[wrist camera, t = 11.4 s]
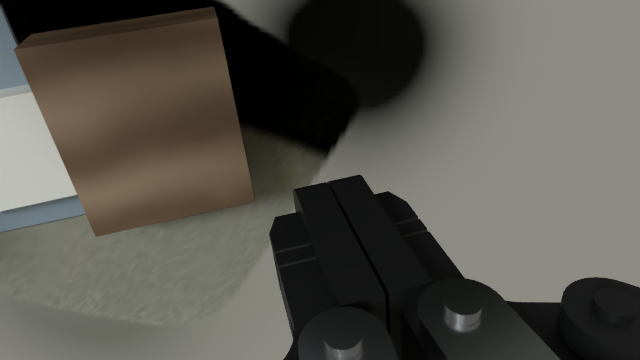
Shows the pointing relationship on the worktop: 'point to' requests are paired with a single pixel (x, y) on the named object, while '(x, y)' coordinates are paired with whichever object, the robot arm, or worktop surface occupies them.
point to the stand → (141, 117)
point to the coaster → (28, 154)
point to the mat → (6, 73)
